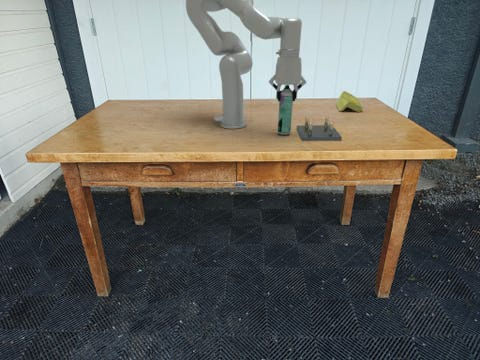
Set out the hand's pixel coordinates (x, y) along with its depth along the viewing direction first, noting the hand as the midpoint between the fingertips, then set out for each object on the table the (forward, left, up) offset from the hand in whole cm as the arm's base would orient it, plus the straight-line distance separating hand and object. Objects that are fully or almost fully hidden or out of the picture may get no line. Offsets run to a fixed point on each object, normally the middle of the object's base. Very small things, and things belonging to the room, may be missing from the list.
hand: (286, 100), depth 132 cm
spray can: (0, 0, -14) cm, 14 cm away
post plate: (+14, 0, -15) cm, 21 cm away
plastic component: (+41, +44, -15) cm, 62 cm away
